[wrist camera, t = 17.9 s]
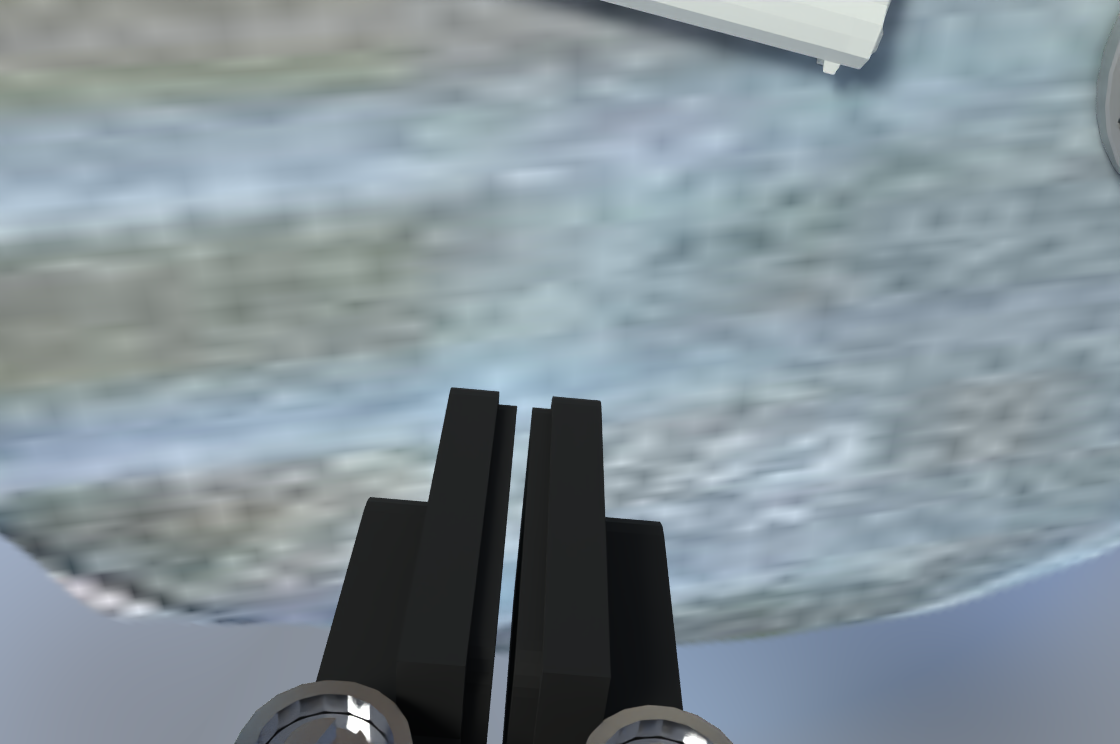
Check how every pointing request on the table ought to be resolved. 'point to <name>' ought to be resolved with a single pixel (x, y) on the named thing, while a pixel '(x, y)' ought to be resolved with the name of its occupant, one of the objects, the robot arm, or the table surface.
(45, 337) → the table surface
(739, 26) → the pistol
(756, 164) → the table surface
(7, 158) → the table surface
